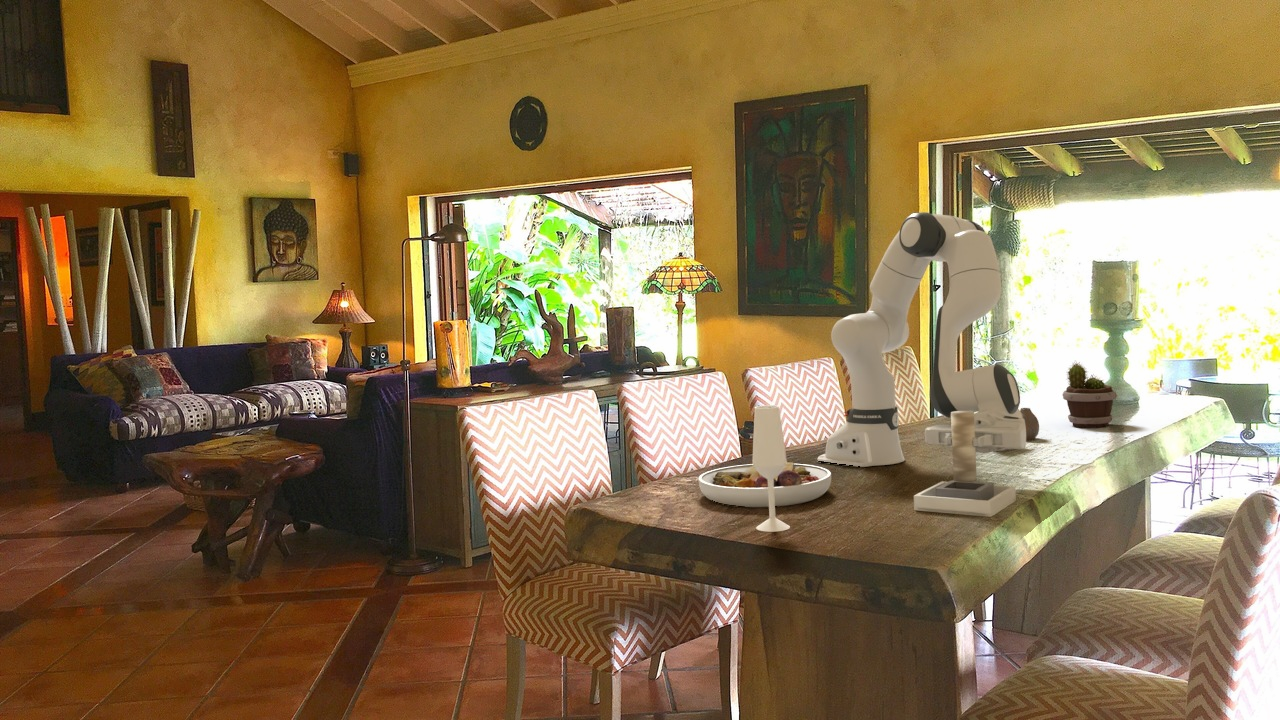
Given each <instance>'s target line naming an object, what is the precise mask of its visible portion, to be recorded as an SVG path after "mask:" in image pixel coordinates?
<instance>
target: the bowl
mask: <svg viewBox="0 0 1280 720" xmlns="http://www.w3.org/2000/svg"><path fill="white" fill-rule="evenodd" d="M831 483H832V472H831V471H830V470H829V469H827V468H824V467H821V466H817V465H812V464H804V463H803V464H801V463H794V462H793V461H792V462H788V461H787V464H786V466H785V468H784V469H783V471H782V472H781V473H780V474H779V475H778V476H777V477H776V478H774V498H775V506H777V507H785V506H794V505H800V504H803V503H804V504H805V503H807V502H811V501H814V500H816V499H818V498H820V497H822V496H823V495H824V494H825V493H826V492H827V491H828V490H829V488H830V486H831ZM698 486H699V490H700V491H701V493H702V495H703V496H705V497H706V498H707V499H708V500H710V501H712V500H713V501H712V502H714V501H715V502H714V503H716V502H719V503H724V504H730V505H736V506H735V507H738V506H745V507H744V508H769V498H768V479H766V478H765V477H763V476H762V475H761V474H760V473H759V472H758V471H757V470H756V469H755V467H754V466H753V463H750V464H740V465H732V466H726V467H720V468H716V469H712V470H708V471H706V472H703V473H702V474H700V475H699V476H698ZM719 503H718V504H719ZM724 504H723V505H724Z"/></svg>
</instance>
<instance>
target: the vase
mask: <svg viewBox="0 0 1280 720" xmlns="http://www.w3.org/2000/svg"><path fill="white" fill-rule="evenodd" d="M1019 410H1020V412H1021V414H1022V417H1023V419H1024V420H1025V426H1026V441H1032V440H1035V439H1036V438H1037V437H1038V435H1039V432H1040V423H1039V420H1038V418H1037V416H1036V415H1035V414H1034V413H1033V412H1032V410H1031V408H1030V407H1021V408H1020V409H1019Z"/></svg>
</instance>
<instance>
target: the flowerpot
mask: <svg viewBox="0 0 1280 720" xmlns="http://www.w3.org/2000/svg"><path fill="white" fill-rule="evenodd" d="M1080 363H1081V361H1079V362H1078V363H1077V361H1075V362H1072V365H1070V366H1069V367H1067V371H1066V380H1067V383H1068V384H1067V385H1068V386H1067V387H1066V390H1064V391H1063V392H1062V395H1061V396H1062V398H1063V400H1065V401H1066V403H1067V407H1068V411H1069V414H1068V415H1067V418H1068V421H1069V422H1070V423H1072V426H1073V427H1077V428H1088V429H1095V428H1103V427H1108V426H1109V424H1110V423H1111V422H1112V421H1113V415H1112V414H1111V413H1112V411H1113V410H1112V408H1113V403H1114V400H1116V399H1117V396H1118V394H1117V392H1116V390H1115V389H1113V388H1112V385H1106V384H1105V383H1104V380H1105V379H1101V377H1096V375H1094V373H1093V374H1092V375H1090V377H1089V376H1088V373H1089V371H1087V370H1088V369H1087V368H1086V367H1085V366H1083V365H1082V364H1080Z"/></svg>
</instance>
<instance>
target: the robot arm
mask: <svg viewBox="0 0 1280 720" xmlns="http://www.w3.org/2000/svg"><path fill="white" fill-rule="evenodd" d="M883 254H884V255H883V256H882V259H880V263H879V264H878V267H877V268H876V270H875V273H874V275H873V278H872V279H871V281H870V285H869V291H870V293H871V295H872V298H871V304H870V307H869V309H868V310H867V311H866V312H863V313H853V314H849V315H847V316H845V317H843V318H840V319H839V320H837V321H836V322H835V324H834V325H833V327H832V330H831V334H830V336H831V337H830V339H831V343H832V345H833V347H834V349H835V350H836V351H837V352H838V354H840V355H841V356H842V359H843V360H844V362H845V365H846V368H847V372H848V376H849V378H850V386H851V387H850V389H851V390H850V391H851V401H852V402H851V404H852V407H851V408H849V409H848V410H846V411H844V412H843V417H846V422H845V423H844V424H843V425H841V426H840V427H839V428H837V430H835V431H834V432H833V433H831V434H830V435H829V436H828V438H827V441H826V445H825V452H824V453H823V454H821V455H819V456H818V457H817V460H818V461H824V462H831V463H837V464H836V465H839V464H846V465H845V466H849V465H853V466H852V467H858V466H860V468H865V467H872V466H873V467H874V466H885V465H887V466H888V465H894V464H900V463H902V462H904V461H905V460H906V459H905V457H904V454H903V450H902V447H901V440H900V437H899V431H898V429H899V410H898V407H897V405H896V401H897V400H896V381H895V376H894V375H893V374H892V372H890V371H889V369H888V368H887V366H886V363H885V359H884V357H883V354H885V353H890V352H894V351H895V350H898V349H899V348H900V347H902V346H904V345H905V344H906V343H907V340H909V339H908V338H909V336H910V327H909V323H908V314H909V310H910V306H911V303H912V301H913V298H914V296H915V294H916V293H917V290H918V288H919V285H920V284H921V281H922V279H923V278H924V276H925V275H926V271H927V270H928V267H929V265H930V264H931V262H932V261H935V262H944V263H945V262H946V263H947V266H948V278H949V279H948V280H949V289H948V290H949V291H948V294H947V297H946V300H945V302H944V303H943V305H941V306H940V307H939V309H938V312H937V316H936V324H935V334H934V336H935V338H934V350H933V351H934V353H933V366H932V367H933V368H932V369H933V370H932V376H931V380H930V381H931V382H930V385H929V399H930V404H931V406H932V408H933V409H934V410H935V411H936V412H937V413H939V414H941V415H942V416H944V417H946V418H948V419H951V412H954V411H973V412H974V428H975V438H973V442H974V443H973V446H975V451H976V453H978V454H979V453H980V454H989V453H992V452H996V451H999V450H1003V451H1007V450H1023V449H1026V445H1027V440H1026V426H1025V420H1024V419H1023V417H1022V414H1021V412H1020V409H1019V407H1020V404H1021V395H1020V388H1019V385H1018V382H1017V379H1016V378H1015V375H1013V373H1012V372H1010V371H1009V370H1008V369H1007V368H1006V367H1005V366H1003V365H1001V364H998V363H996V364H990V365H985V366H981V367H978V366H977V367H976V368H970V369H965V370H959V371H956V368H957V367H956V366H957V349H958V340H959V337H960V335H961V334H962V333H963V331H964V330H965V329H966V328H968V327H969V326H970V325H972V324H973V323H974V322H976V321H978V320H979V319H980V318H982V317H984V316H985V315H987V314H988V313H990V311H992V310H993V309H994V308H995V306H996V305H997V304H998V302H999V301H1000V298H1001V297H1002V296H1001V295H1002V280H1001V272H1000V265H999V260H998V257H997V253H996V250H995V246H994V244H993V240H992V238H991V237H990V236H989V234H988V233H986V231H985V229H984V227H982V226H981V225H980V224H978V223H977V222H974V221H973V220H970V219H963V218H961V217H958V216H954V215H950V214H938V213H937V214H936V213H930V212H925V211H924V212H923V211H921V212H916V213H911V214H910V215H909V216H907V217H906V218H905V219H904V220H903V222H902V223H901V226H900V229H899V230H898V232H897V233H896V235H894V238H893V239H892V240H891V241H890V244H889V245H888V247H887V249H886V250H885V252H884V253H883ZM924 440H925V441H924V442H925V444H926V445H930V446H949V447H950V446H951V447H952V429H951V423H950V424H949V423H947V424H935V425H932V426H927V427H926V428H925V429H924ZM818 461H817V462H818Z"/></svg>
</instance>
